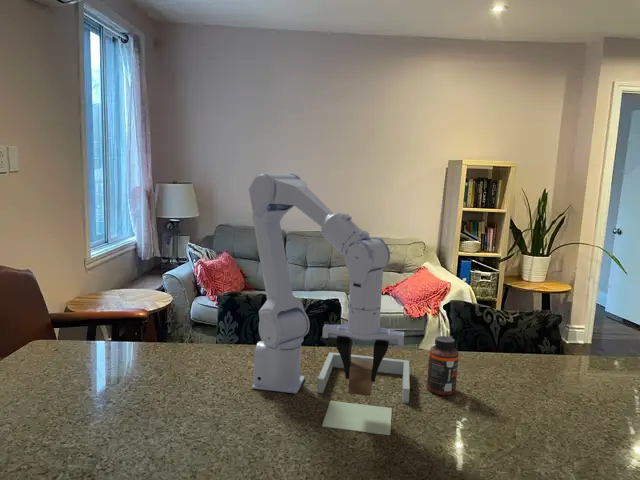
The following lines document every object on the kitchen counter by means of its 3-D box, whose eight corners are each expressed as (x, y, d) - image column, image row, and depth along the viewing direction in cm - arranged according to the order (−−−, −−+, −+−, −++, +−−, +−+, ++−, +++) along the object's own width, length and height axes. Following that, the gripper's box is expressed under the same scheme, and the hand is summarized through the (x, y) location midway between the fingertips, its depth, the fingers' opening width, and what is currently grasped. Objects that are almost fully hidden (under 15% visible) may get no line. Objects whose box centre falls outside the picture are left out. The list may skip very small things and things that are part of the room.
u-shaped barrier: (317, 392, 99) (317, 378, 99) (328, 364, 114) (329, 352, 114) (408, 403, 96) (409, 389, 96) (408, 373, 111) (409, 360, 111)
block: (348, 393, 89) (349, 367, 88) (350, 384, 92) (352, 359, 92) (370, 396, 88) (371, 369, 87) (372, 386, 92) (373, 361, 91)
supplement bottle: (456, 398, 100) (461, 345, 98) (426, 394, 101) (430, 342, 99) (454, 386, 105) (458, 335, 104) (426, 382, 107) (430, 332, 105)
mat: (321, 426, 86) (321, 426, 86) (330, 401, 96) (330, 400, 96) (390, 435, 84) (390, 434, 84) (391, 408, 94) (391, 408, 94)
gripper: (405, 303, 90) (401, 373, 92) (328, 297, 92) (325, 365, 94) (405, 314, 83) (400, 390, 85) (321, 306, 85) (318, 380, 87)
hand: (360, 378), depth 89 cm, fingers closed on block, 4 cm apart
